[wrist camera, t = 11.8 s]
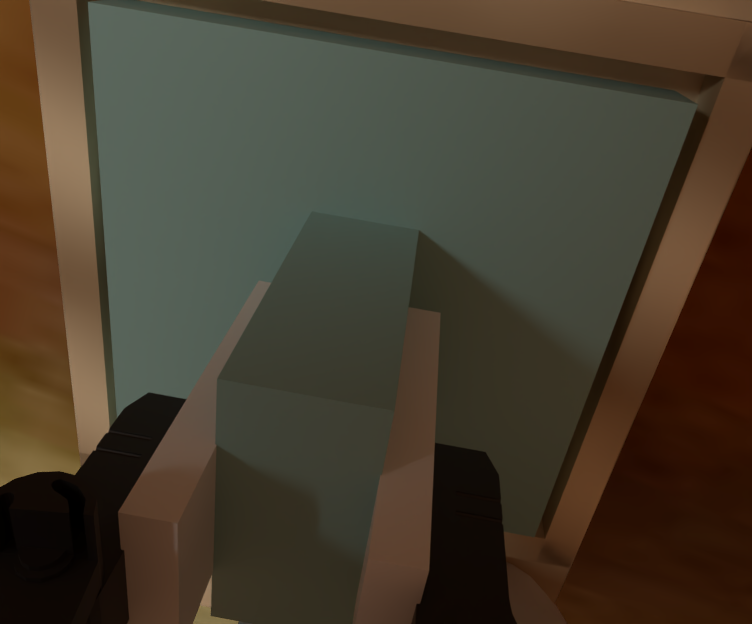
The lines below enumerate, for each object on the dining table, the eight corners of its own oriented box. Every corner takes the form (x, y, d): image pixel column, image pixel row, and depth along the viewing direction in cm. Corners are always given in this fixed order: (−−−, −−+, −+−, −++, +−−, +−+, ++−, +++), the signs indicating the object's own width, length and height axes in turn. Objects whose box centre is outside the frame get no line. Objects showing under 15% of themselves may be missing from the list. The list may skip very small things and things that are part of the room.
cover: (121, -3, 14) (-209, 38, 7) (674, 90, 14) (902, 229, 7) (142, 427, 20) (-28, 681, 13) (529, 498, 20) (569, 799, 13)
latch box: (144, -103, 18) (-11, -133, 12) (709, -11, 18) (841, 5, 12) (161, 472, 29) (83, 609, 23) (514, 538, 29) (530, 695, 23)
